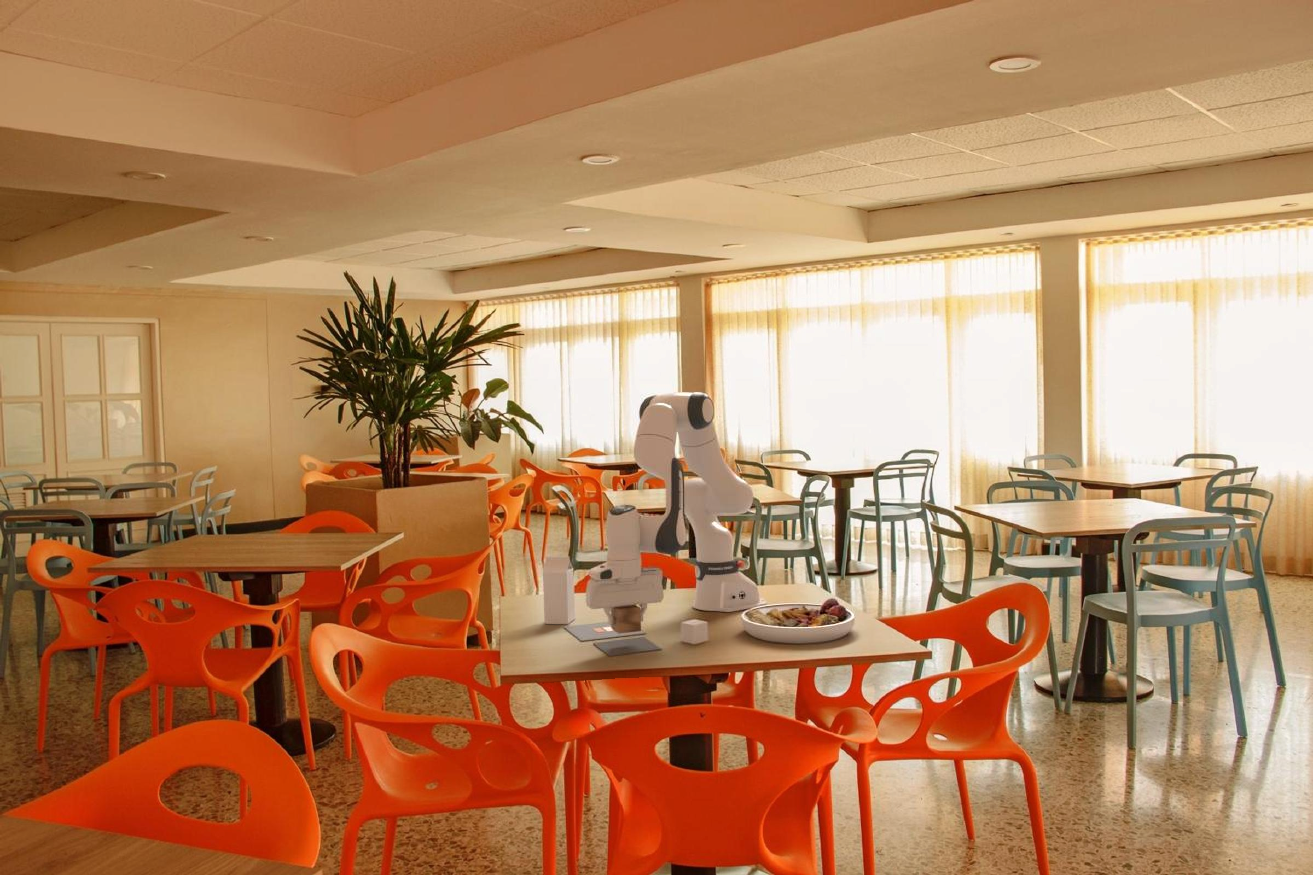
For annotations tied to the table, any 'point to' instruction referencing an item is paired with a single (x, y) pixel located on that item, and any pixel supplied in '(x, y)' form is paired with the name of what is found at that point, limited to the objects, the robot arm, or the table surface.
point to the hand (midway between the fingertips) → (625, 622)
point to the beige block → (694, 631)
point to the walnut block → (626, 619)
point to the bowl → (798, 622)
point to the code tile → (597, 631)
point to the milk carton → (558, 591)
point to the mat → (627, 646)
